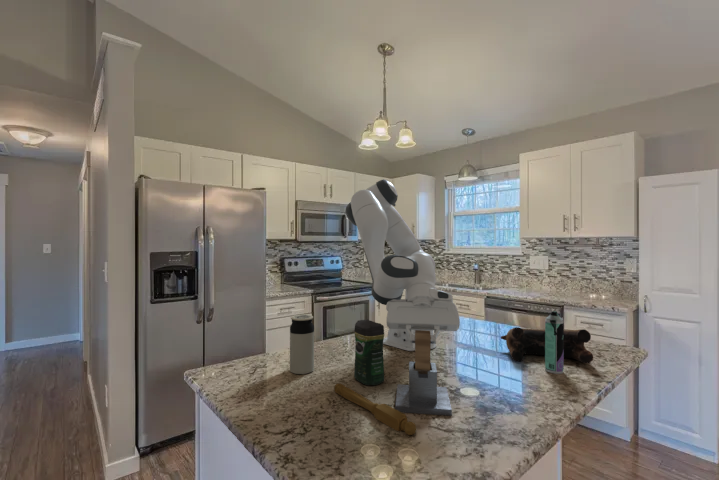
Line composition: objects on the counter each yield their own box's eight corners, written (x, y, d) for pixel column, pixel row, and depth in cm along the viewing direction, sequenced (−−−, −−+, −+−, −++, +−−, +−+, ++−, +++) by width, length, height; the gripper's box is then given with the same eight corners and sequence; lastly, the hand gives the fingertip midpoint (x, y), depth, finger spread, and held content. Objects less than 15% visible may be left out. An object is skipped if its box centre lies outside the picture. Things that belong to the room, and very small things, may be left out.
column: (414, 384, 101) (414, 330, 101) (429, 385, 101) (429, 330, 101) (414, 390, 97) (415, 333, 97) (430, 391, 97) (430, 334, 96)
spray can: (565, 374, 119) (566, 313, 119) (547, 373, 120) (548, 312, 120) (560, 368, 124) (560, 310, 124) (542, 367, 126) (543, 309, 126)
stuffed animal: (599, 325, 126) (574, 319, 151) (504, 328, 133) (495, 321, 157) (604, 363, 125) (578, 351, 149) (508, 364, 131) (498, 352, 156)
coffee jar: (388, 383, 112) (388, 322, 112) (366, 388, 107) (367, 325, 107) (371, 373, 120) (371, 316, 120) (350, 377, 116) (350, 319, 116)
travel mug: (318, 368, 124) (318, 315, 124) (305, 376, 117) (305, 320, 117) (298, 365, 127) (298, 313, 127) (284, 372, 120) (285, 317, 120)
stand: (397, 389, 107) (397, 357, 107) (446, 392, 105) (446, 359, 105) (395, 411, 93) (395, 374, 93) (451, 415, 91) (451, 377, 91)
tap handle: (342, 381, 106) (419, 421, 82) (342, 391, 106) (419, 435, 82) (333, 383, 104) (409, 426, 80) (333, 394, 104) (409, 439, 80)
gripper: (386, 292, 107) (383, 334, 97) (457, 294, 104) (462, 337, 95) (387, 305, 112) (385, 346, 102) (456, 307, 109) (460, 349, 99)
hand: (422, 342), depth 98 cm, fingers open, 4 cm apart
